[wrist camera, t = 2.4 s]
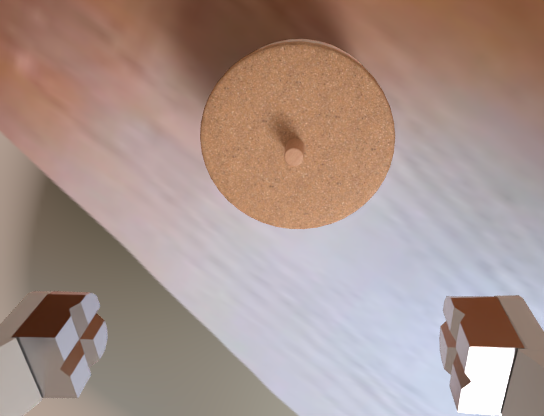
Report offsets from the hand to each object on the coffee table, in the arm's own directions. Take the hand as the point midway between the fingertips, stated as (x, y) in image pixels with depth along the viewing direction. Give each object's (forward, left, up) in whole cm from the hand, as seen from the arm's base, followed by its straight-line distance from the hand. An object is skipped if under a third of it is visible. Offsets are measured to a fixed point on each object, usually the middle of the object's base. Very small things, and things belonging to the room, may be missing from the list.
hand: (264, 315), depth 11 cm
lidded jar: (0, +1, -23) cm, 23 cm away
